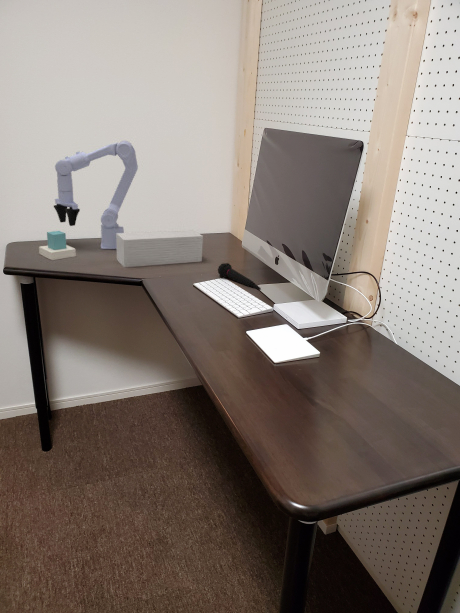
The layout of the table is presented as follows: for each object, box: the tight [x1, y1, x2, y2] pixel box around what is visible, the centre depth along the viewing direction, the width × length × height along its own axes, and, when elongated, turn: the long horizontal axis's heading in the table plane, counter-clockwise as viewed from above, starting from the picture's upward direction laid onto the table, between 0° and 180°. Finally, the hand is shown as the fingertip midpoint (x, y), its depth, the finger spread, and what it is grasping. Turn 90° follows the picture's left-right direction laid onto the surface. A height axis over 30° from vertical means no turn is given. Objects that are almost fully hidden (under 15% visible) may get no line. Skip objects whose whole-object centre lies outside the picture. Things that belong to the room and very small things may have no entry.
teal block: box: [46, 230, 67, 250], centre depth 179 cm, size 5×5×6 cm
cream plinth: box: [38, 244, 77, 261], centre depth 181 cm, size 10×10×3 cm
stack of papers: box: [116, 229, 204, 268], centre depth 183 cm, size 32×11×11 cm, turn 117°
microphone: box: [217, 262, 261, 290], centre depth 165 cm, size 6×6×20 cm
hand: (67, 223), depth 191 cm, fingers open, 7 cm apart
